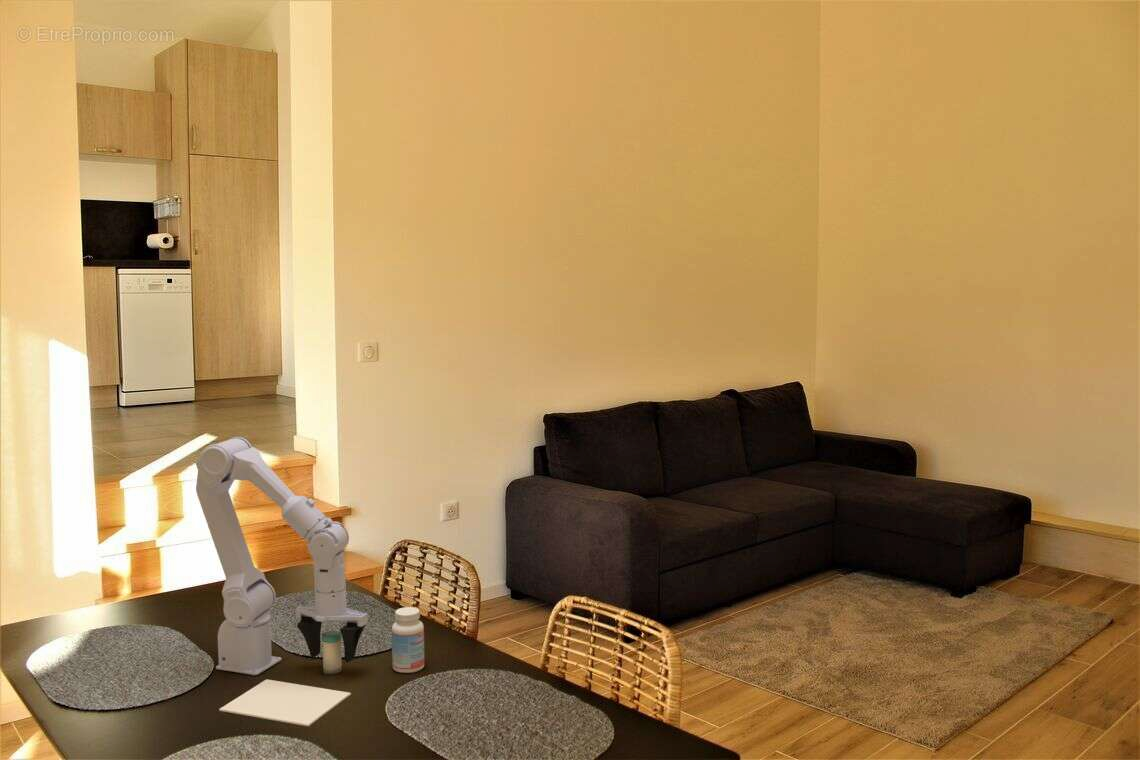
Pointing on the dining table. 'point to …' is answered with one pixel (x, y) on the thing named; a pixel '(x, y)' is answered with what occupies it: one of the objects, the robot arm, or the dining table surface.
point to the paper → (286, 702)
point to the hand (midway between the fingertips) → (332, 657)
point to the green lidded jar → (332, 652)
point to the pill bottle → (407, 641)
